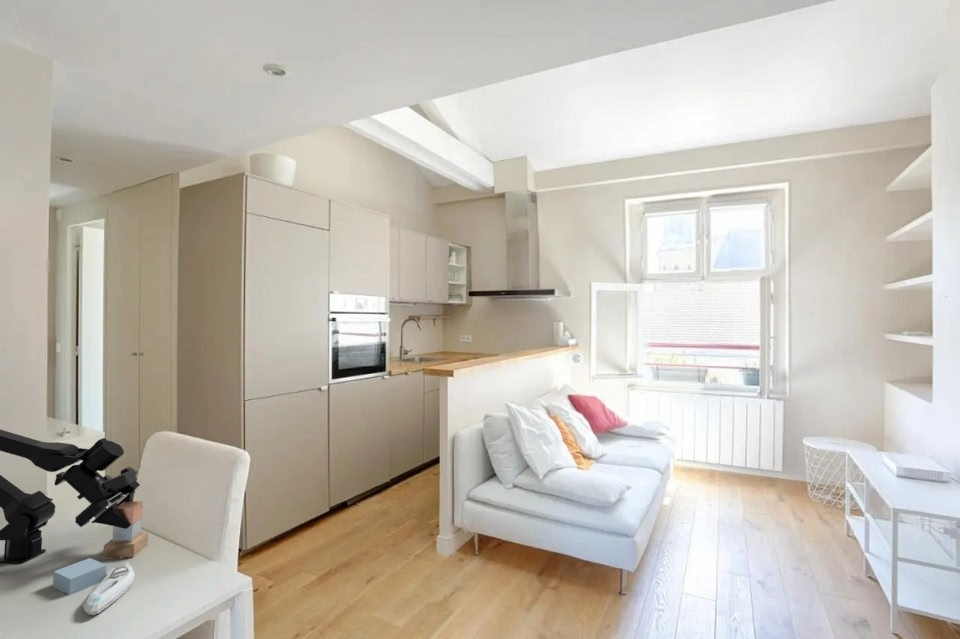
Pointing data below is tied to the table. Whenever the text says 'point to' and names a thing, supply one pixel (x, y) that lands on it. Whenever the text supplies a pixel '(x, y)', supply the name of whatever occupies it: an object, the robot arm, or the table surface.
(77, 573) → the stand
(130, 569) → the spaceship
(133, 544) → the stand
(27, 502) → the robot arm
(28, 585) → the table surface
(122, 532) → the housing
